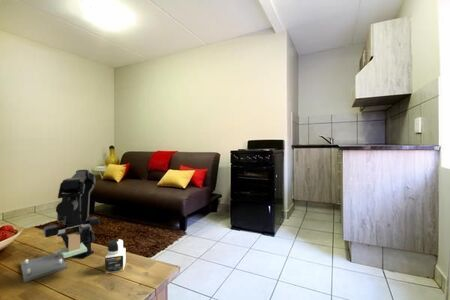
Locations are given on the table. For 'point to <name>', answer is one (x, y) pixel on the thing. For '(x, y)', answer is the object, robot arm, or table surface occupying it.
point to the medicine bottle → (115, 256)
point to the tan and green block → (73, 246)
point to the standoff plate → (42, 266)
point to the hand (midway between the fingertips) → (73, 246)
